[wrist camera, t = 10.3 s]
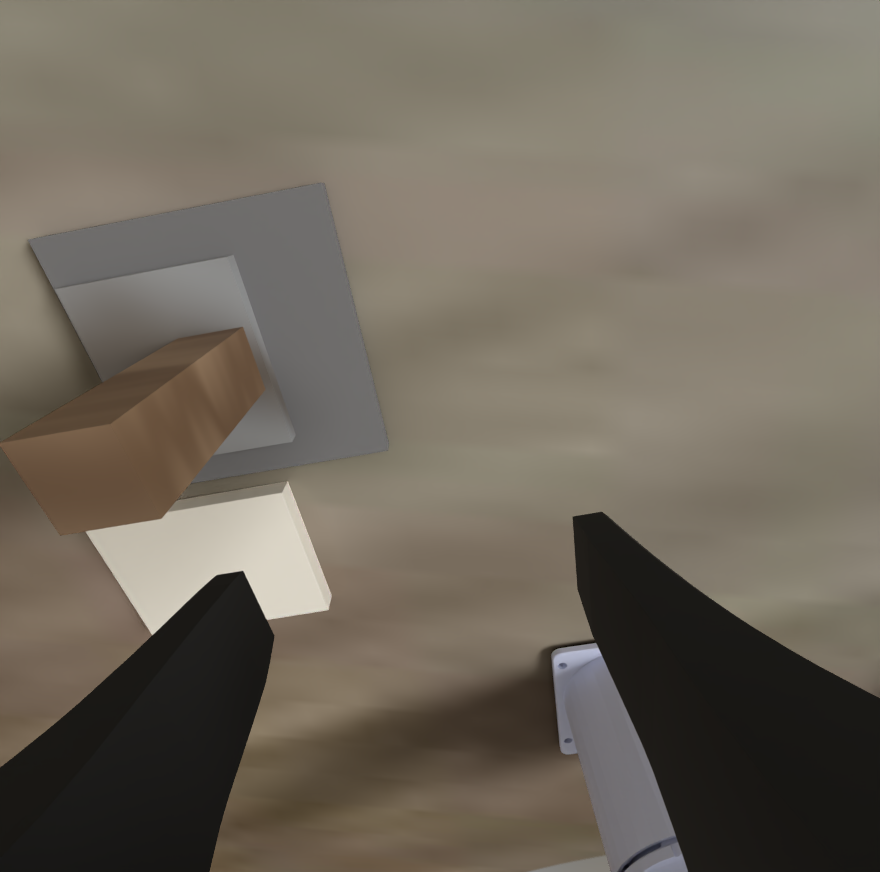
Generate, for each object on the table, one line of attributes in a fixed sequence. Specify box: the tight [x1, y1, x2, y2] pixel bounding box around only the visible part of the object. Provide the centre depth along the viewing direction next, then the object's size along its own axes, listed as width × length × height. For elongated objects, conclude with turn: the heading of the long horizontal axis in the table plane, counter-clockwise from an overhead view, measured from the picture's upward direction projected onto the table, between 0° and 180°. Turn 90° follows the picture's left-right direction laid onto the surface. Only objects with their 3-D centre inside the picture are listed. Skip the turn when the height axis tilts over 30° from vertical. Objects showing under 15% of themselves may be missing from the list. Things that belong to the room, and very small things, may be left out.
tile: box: [86, 481, 332, 635], centre depth 23 cm, size 7×1×9 cm
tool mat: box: [28, 183, 389, 483], centre depth 18 cm, size 10×10×1 cm
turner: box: [0, 255, 296, 535], centre depth 14 cm, size 7×6×9 cm
